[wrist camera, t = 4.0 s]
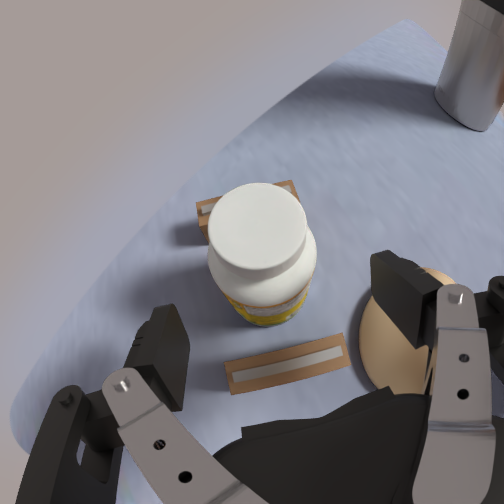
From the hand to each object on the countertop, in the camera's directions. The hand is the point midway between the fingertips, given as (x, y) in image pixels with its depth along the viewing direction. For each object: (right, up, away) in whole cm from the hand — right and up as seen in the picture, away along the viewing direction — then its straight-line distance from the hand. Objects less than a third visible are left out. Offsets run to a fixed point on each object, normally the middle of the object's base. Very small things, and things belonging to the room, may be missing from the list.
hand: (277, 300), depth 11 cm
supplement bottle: (0, -1, +9) cm, 9 cm away
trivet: (+11, -4, +6) cm, 14 cm away
